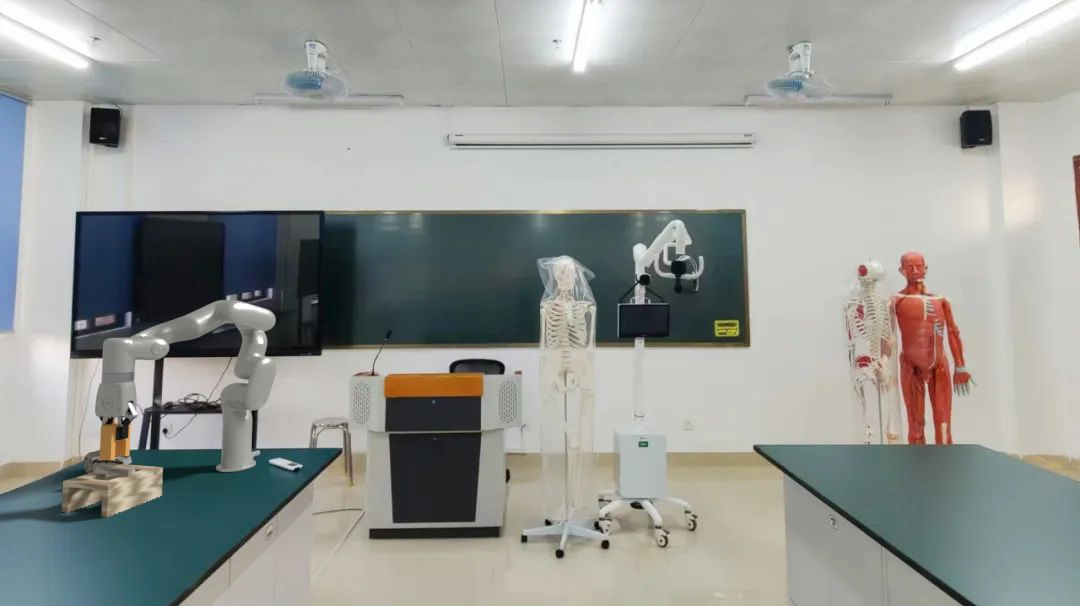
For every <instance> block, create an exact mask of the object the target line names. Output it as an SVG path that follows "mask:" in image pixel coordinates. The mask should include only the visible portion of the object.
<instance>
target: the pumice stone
mask: <svg viewBox="0 0 1080 606" xmlns="http://www.w3.org/2000/svg"><path fill="white" fill-rule="evenodd" d="M99 456H100V449H98V450H95V451H89V452H88V453H87V454H85V456H84V458H83V462H84V469H85V472H86V473H87V474H89V473H92V464H90V463H91V460H92V458H94V457H99Z"/></svg>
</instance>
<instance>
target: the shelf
mask: <svg viewBox="0 0 1080 606" xmlns="http://www.w3.org/2000/svg"><path fill="white" fill-rule="evenodd" d="M163 469H164V467H161V466H149V465H140V464H139V465H138V464H137V465H136V464H129V465H126V464H120V465H116V466H108V465H101V466H98V467H96V471H95V472H93V473H87V474H83V475H79V476H77V477H73V478H70V479H65V480H63V481H62V494H61V495H62V498H61V501H62V503H61V513H62V512H64V513H63V514H70V513H72V512H75V511H77V509H78V510H80V508H81V509H83V508H85V506H86V507H88V505H89V506H92V505H95V504H97V502H98V503H101V518H110V517H111V516H114V514H115V515H116V514H120V513H122V512H124V511H127V510H130V509H132V507H133V508H134V507H135V508H136V507H137V505H138V506H140V505H143V504H145V503H148V502H150V500H151V501H153V500H155V498H156V499H158V498H161V497H163V471H164V470H163ZM160 496H161V497H160ZM157 497H158V498H157ZM152 499H153V500H152ZM147 501H148V502H147ZM142 503H143V504H142ZM91 504H92V505H91ZM74 510H75V511H74ZM71 511H72V512H71ZM119 512H120V513H119Z"/></svg>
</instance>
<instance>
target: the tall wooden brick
mask: <svg viewBox="0 0 1080 606" xmlns="http://www.w3.org/2000/svg"><path fill="white" fill-rule="evenodd" d="M131 425H132V423H131V424H130V425H129V434H128V438H126V439H122V440H116V427H119V426H118V421H117V422H114V423H112V424H108V425H103V426H102V425H100V438H99V441H100V443H99V450H100V460H114V459H115V456H129V455H130V449H131V446H130V445H131V429H132V427H131Z"/></svg>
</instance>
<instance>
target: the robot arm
mask: <svg viewBox="0 0 1080 606" xmlns="http://www.w3.org/2000/svg"><path fill="white" fill-rule="evenodd" d="M225 324H234V325H235V327H236V328H237V329H238V331H239V333H240V335H241V339H242V342H241V346H240V349H239V352H238V355H237V358H236V361H235V363H234V367H233V374H234V376H235V377H236V378H237V379H240V380H244V381H248V382H247V383H246V382H245V383H244V382H233V383H229V384H228V385H226V386H225V387H224V388H223V389H222V391H221V393H220V396H219V403H220V406H221V407H220V408H221V411H222V427H221V428H222V430H221V431H222V432H221V434H222V435H221V458H220V459H221V461H220V463H219V464H217V465H216V466H215V470H216V471H217V472H221V473H230V472H231V473H233V472H240V471H245V470H248V469H251V468H254V467H255V466H256V464H257V462H256V460H255V459H254V458H255V457H257V456H259V455H261V451H260V450H259V449H257V450H254V451H252V445H253V443H252V440H253V436H252V435H253V415H252V411H257V410H260V409H262V408H263V407H265V405H266V403H267V401H268V400H269V396H270V394H271V390H272V388H273V384H274V381H275V377H276V375H277V363H276V362H275V360H274V359H273V358H271V357H269V356H266V355H265V354H266V352H267V347H268V337H267V335H266V333H265V332H267V331H270V330H271V329H272V328H273V327H274V326H275V324H276V316H275V314H274V313H273V312H272V311H271V310H270V309H267V308H264V307H261V306H259V305H254V304H251V303H248V302H244V301H241V300H235V299H230V300H226V299H220V300H216V301H214V302H211V303H209V304H206V305H204V306H202V307H201V308H198V309H196V310H194V311H192V312H190V313H187V314H186V315H183V316H181V317H177V318H174V319H172V320H169V321H166V322H163V323H160V324H157V325H154V326H151V327H149V328H147V329H145V330H141V331H140V332H138V333H135V334H134V335H132V336H130V337H111V338H110V337H109V338H106V339H105V340H104V341H103V342H102V343H103V344H102V362H101V368H102V369H101V382H100V383H99V385H98V389H97V392H96V397H95V405H94V413H95V414H94V415H96V416H97V417H98V419H99V420H100V421H101V426H103V425H108V424H112V423H116V419H117V422H118V426H119V427H116V440H122V439H126V438H128V434H129V425H130V424H131V425H132V422H133V421H134V419H137V418H138V413H137V400H138V399H137V387H136V383H135V377H136V375H135V374H136V372H135V371H136V361H137V360H139V361H140V360H141V361H142V360H143V361H156V360H160V359H162V358H164V357H165V356H167V355H168V353H169V352H170V344H173V343H178V342H183V341H189V340H194V339H197V338H200V337H202V336H203V335H205V334H208V333H210V332H211V331H213V330H215V329H218V328H219V327H221V326H223V325H225ZM123 418H124V419H123Z"/></svg>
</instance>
